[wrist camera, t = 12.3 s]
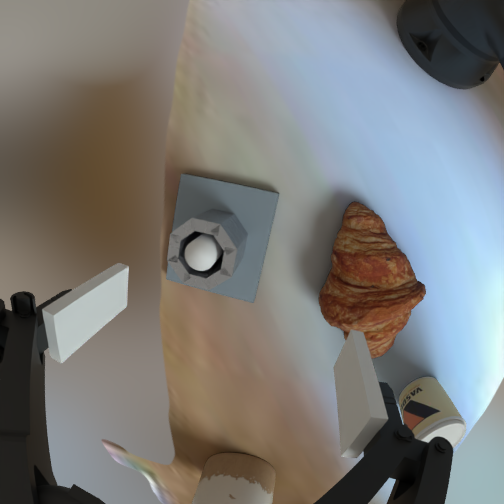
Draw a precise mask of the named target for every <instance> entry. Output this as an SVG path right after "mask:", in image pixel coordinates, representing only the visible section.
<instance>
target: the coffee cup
mask: <svg viewBox="0 0 504 504" xmlns="http://www.w3.org/2000/svg"><path fill="white" fill-rule="evenodd" d="M399 405H400V410H401V414H402V419H403V423H404V425H405V426H407V427H408V428H410V429H411V430H412V432H413V433H414V436H415V438H416V439H418V440H421V441H425V442H429V441H430V440H431V439H432V438H434V437H437V436H440V437H444V438H445V439H447V440H448V441H449V442H450V443H451V445H452V447H453V448H454V447H455V446H456V445H457V444H458V443H459V442H460V441H461V440H462V438H463V437H464V435H465V432H466V422H465V420H464V419H463V418H462V417H461V415H460V414H459V412H458V410H457V409H456V407H455V406H454V404H453V402H452V401H451V399H450V398H449V396H448V395H447V393H446V392H445V390H444V389H443V387H442V386H441V385H440V383H439V382H438V381H437V380H436V379H435V378H433V377H421V378H418V379H416V380H414V381H412V382H411V383H410V384H408V385H407V386H406V387H405V388H404V389H403V391H402V392H401V394H400V396H399Z"/></svg>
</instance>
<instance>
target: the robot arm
mask: <svg viewBox="0 0 504 504" xmlns="http://www.w3.org/2000/svg"><path fill="white" fill-rule="evenodd" d="M397 27H398V32H399V35H400V38H401V40H402V42H403V44H404V46H405V48H406V50H407V51H408V53H409V54H410V55H411V57H412V58H413V59H414V60H415V62H416V63H417V64H418V65H419V66H420V67H421V68H422V69H423V70H424V71H425V72H427V73H428V74H429V75H430V76H432V77H433V78H435V79H436V80H438V81H439V82H441V83H443V84H445V85H447V86H450V87H453V88H457V89H470V88H473V87H476V86H478V85H481V84H483V83H484V82H486V81H487V80H488V79H489V77H490V76H491V75H492V73H493V72H494V70H495V69H496V67H497V66H498V64H499V63H501V65H502V67H503V69H504V0H406V1H405V2H404V4H403V5H402V7H401V8H400V10H399V12H398V16H397ZM128 271H129V266H126V265H123V264H120V263H117V264H116V265H114V266H112V267H111V268H109V269H107V270H105V271H104V272H102V273H100V274H98V275H97V276H95V277H94V278H92V279H90V280H89V281H87V282H85V283H83V284H82V285H80V286H79V287H77V288H75V289H73V290H72V289H70V290H66V291H62V292H61V293H59V294H57V295H56V296H54V297H52V298H51V299H50V300H47V301H46V302H44V303H43V304H41V305H39V306H38V307H36V304H35V297H34V295H33V294H32V293H30V292H24V291H23V292H18V293H15V294H13V295H12V296H11V298H10V300H11V305H12V311H10V310H7V309H5V304H4V301H3V300H2V299H0V504H105V503H104V502H103V501H101V500H100V499H99V498H97V497H95V496H93V495H92V494H90V493H88V492H86V491H85V490H83V489H81V488H80V487H78V486H76V485H75V484H73V486H72V487H71V489H70V488H67V487H63V486H57V482H56V480H55V478H54V475H53V472H52V467H51V461H50V453H49V445H48V437H47V425H46V411H45V355H44V351H45V350H46V349H47V348H49V352H50V357H51V358H53V359H55V360H56V361H58V362H59V363H63V362H64V361H65V360H66V359H67V358H68V357H69V356H70V355H72V354H73V353H74V352H75V351H76V350H77V349H78V348H79V347H81V345H83V344H84V343H85V342H86V341H87V340H88V339H89V338H91V337H92V336H93V335H94V334H95V333H96V332H98V331H99V330H100V329H101V328H102V327H103V326H104V325H106V324H107V323H108V322H109V321H110V320H111V319H113V318H114V317H115V316H116V315H117V314H118V313H119V312H121V311H122V310H123V309H124V308H125V307H127V289H128ZM334 376H335V385H336V395H337V406H338V418H339V431H340V446H341V457H351V458H357V457H358V456H359V455H360V454H361V453H362V452H364V457H363V458H362V459H361V460H360V461H359V462H358V463H357V464H356V465H355V466H354V467H353V468H352V469H351V470H350V471H349V472H348V473H347V474H346V475H345V476H344V477H343V478H342V479H341V480H340V481H339V482H338V483H337V484H336V485H335V486H333V487H332V488H331V489H330V490H329V491H328V492H327V493H326V494H325V495H323V496H322V497H321V498H320V499H319V500H318V501H316V502H315V503H314V504H368V503H369V502H370V500H371V499H372V498H373V497H374V496H375V495H376V493H377V492H378V491H379V490H380V488H381V487H382V486H383V485H384V483H385V482H386V481H387V480H388V478H389V477H390V478H393V479H396V481H395V484H394V487H393V489H392V492H391V494H390V497H389V499H388V502H387V504H444V503H445V499H446V494H447V489H448V484H449V478H450V471H451V465H452V457H453V447H452V445H451V443H450V442H449V441H448V440H447V439H445V438H444V437H440V436H437V437H434V438H432V439H431V440H430V441H429V442H425V441H421V440H418V439H416V438H415V436H414V433H413V432H412V430H411V429H410V428H408V427H407V426H405V425H403V424H402V420H401V417H400V413H399V410H398V407H397V405H396V404H397V403H396V400H395V399H394V398H395V397H394V394H393V391H392V389H391V388H390V387H389V385H388V384H387V383H384V382H378V379H377V375H376V372H375V368H374V365H373V362H372V358H371V355H370V352H369V349H368V345H367V342H366V339H365V336H364V333H363V332H360V331H356V330H350V333H349V335H348V337H347V340H346V342H345V344H344V346H343V348H342V351H341V353H340V355H339V357H338V359H337V361H336V363H335V365H334Z"/></svg>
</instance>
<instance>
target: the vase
mask: <svg viewBox="0 0 504 504" xmlns="http://www.w3.org/2000/svg"><path fill="white" fill-rule="evenodd" d="M275 476H276V474H275V470H274V468H273V467H272V466H271V465H270V464H269V463H268V462H266V461H264V460H262V459H260V458H258V457H255V456H251V455H247V454H242V453H219V454H216V455H213V456H211V457H210V458H209V459H208V460H207V461H206V464H205V466H204V469H203V472H202V475H201V478H200V481H199V484H198V487H197V490H196V493H195V495H194V498H193V501H192V504H272V500H273V493H274V485H275Z"/></svg>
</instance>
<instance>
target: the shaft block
mask: <svg viewBox="0 0 504 504" xmlns="http://www.w3.org/2000/svg"><path fill="white" fill-rule="evenodd" d="M278 197H279V193H276V192H272V191H267V190H263V189H258V188H254V187H249V186H245V185H240V184H235V183H230V182H225V181H221V180H216V179H210V178H205V177H200V176H195V175H189V174H181V178H180V183H179V189H178V195H177V201H176V208H175V214H174V221H173V228H172V232H173V231H174V230H176V229H177V228H179V227H180V226H181V225H183V224H184V223H185V222H187V221H188V220H190V219H191V218H193V217H195V216H197V215H199V214H201V213H203V212H206V211H208V210H210V209H215V210H220V211H224V212H229V213H233V214H235V215H236V216H237V218H238V219H239V221H240V222H241V224H242V225H243V227H244V228H245V230H246V232H247V233H248V238H247V243H246V248H245V253H244V257H243V259H242V261H241V262H240V264H239V266H238V267H237V269H236V271H235V272H234V274H233V276H232V277H231V278H229V279H227V280H226V281H224V282H222V283H221V284H219V285H217V286H216V287H214V288H212V289H210V290H206V289H202V288H199V287H195V286H192V287H195V288H199V289H202V290H206V291H210V292H213V293H217V294H221V295H225V296H228V297H232V298H236V299H240V300H244V301H248V302H252V303H254V300H255V296H256V291H257V287H258V283H259V279H260V274H261V270H262V266H263V262H264V257H265V253H266V249H267V245H268V240H269V236H270V232H271V227H272V223H273V219H274V214H275V210H276V206H277V201H278ZM223 255H224V250H223V249H222V247H221V246H220V244H219V243H218V241H217V240H216V238H215V237H214V235H211V234H207V233H202V232H201V233H200V236H199V237H197V238H196V239H195V240H193V241H192V242H190V243H189V244H188V245H187V247H186V249H185V259H186V261H187V263H188V264H189V266H190V267H192V268H193V269H195V270H198V271H205V270H207V269H209V268H210V267H212V265H213V264H214V263H215V262H216V261H217V260H218V258H221V259H223ZM166 279H167V280H171V281H174V282H177V283H181V284H184V283H182V281H181V280H180V278H179V277H178V275H177V274H176V273H175V271H174V270H173V268H172V267H171V265H170V264H169V262H168V267H167V276H166ZM184 285H188V284H184ZM188 286H191V285H188Z"/></svg>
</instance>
